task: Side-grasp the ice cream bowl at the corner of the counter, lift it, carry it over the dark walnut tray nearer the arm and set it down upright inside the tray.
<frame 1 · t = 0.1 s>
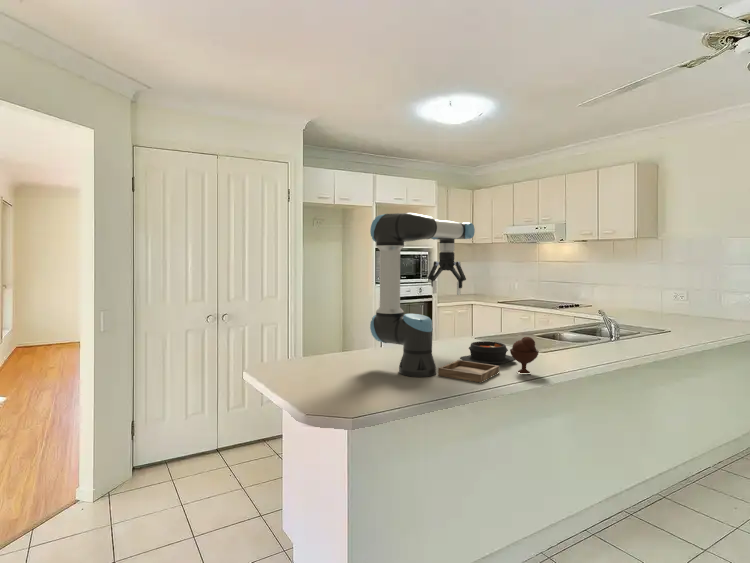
hand: (446, 294, 238), 28 cm above the countertop, fingers open, 13 cm apart
casserole: (487, 363, 210), on the countertop
ice cream bowl: (523, 373, 191), on the countertop
walnut tray: (469, 374, 189), on the countertop
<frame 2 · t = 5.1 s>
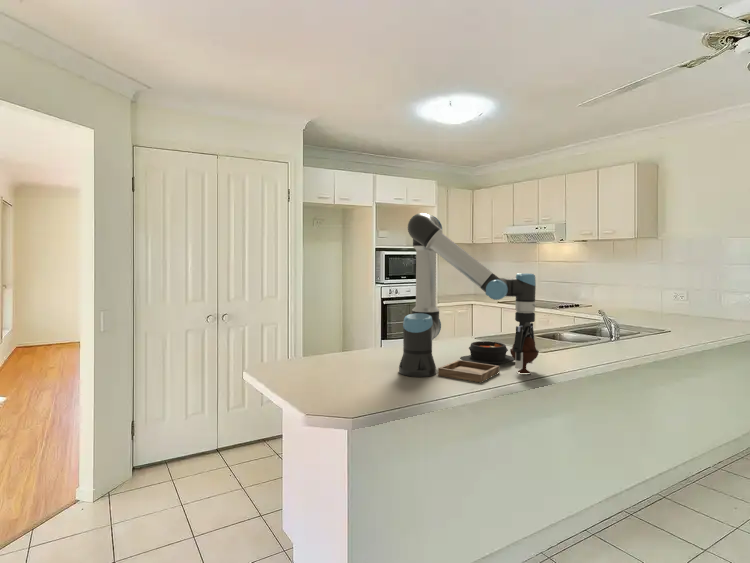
hand: (524, 365, 191), 3 cm above the countertop, fingers closed on ice cream bowl, 11 cm apart
ice cream bowl: (523, 373, 191), on the countertop, touching gripper
everything else where it was.
when the fingers open (6 cm above the countertop, at t = 12.2 s): ice cream bowl drops 2 cm, resting on walnut tray.
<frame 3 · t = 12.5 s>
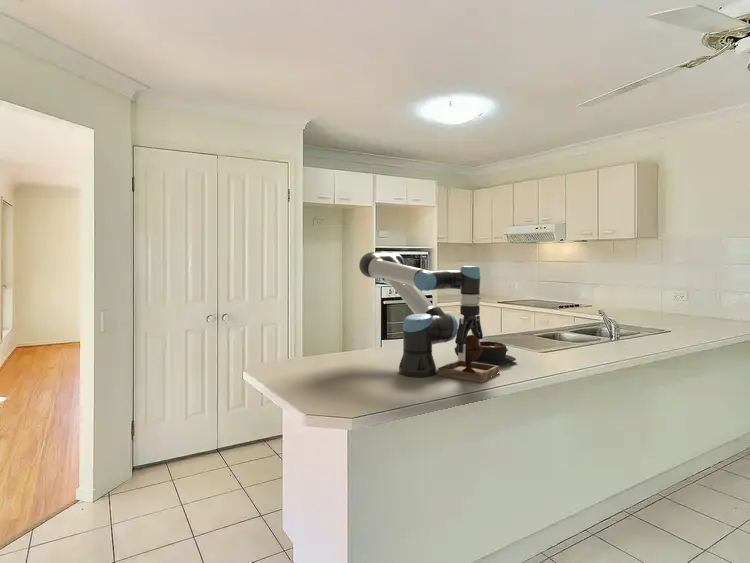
hand: (469, 357, 189), 7 cm above the countertop, fingers open, 13 cm apart
ice cream bowl: (468, 372, 189), point 1 cm above the countertop, touching walnut tray
everything else where it was.
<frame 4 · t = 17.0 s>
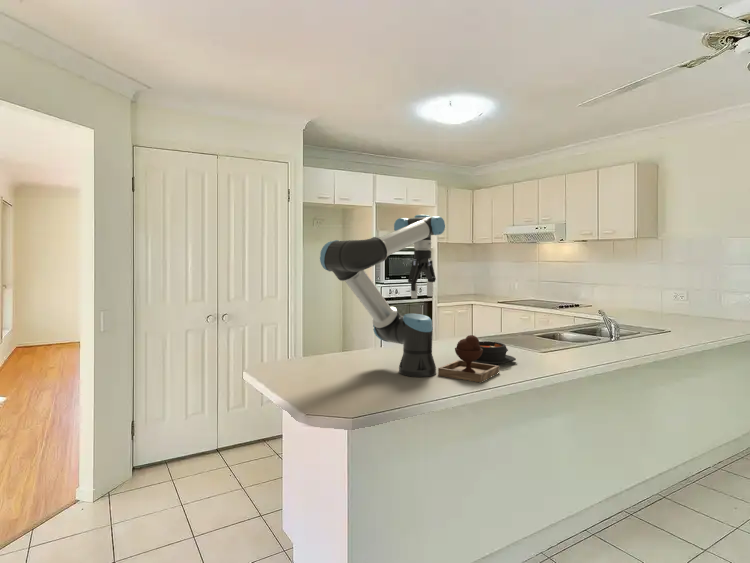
hand: (422, 297, 212), 29 cm above the countertop, fingers open, 13 cm apart
nothing on the countertop moved.
at the end: ice cream bowl inside the target area on the walnut tray (0.4 cm from its centre), point 0.8 cm above the walnut tray's base; ice cream bowl tilted 0°; the gripper is holding nothing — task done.
